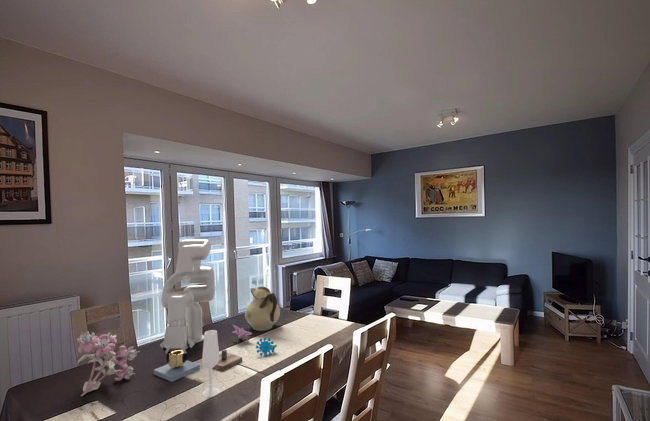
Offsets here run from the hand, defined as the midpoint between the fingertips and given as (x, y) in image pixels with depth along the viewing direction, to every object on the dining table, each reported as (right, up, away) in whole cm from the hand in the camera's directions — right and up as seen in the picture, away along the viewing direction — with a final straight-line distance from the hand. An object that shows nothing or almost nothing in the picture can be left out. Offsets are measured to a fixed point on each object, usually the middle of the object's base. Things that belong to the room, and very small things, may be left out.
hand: (177, 360), depth 147 cm
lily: (+20, -6, +37) cm, 42 cm away
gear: (+38, -5, +18) cm, 42 cm away
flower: (-24, -5, -10) cm, 26 cm away
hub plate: (0, -5, 0) cm, 5 cm away
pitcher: (+29, -7, +60) cm, 67 cm away
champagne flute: (+22, -4, -19) cm, 30 cm away
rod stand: (+19, -5, +8) cm, 21 cm away
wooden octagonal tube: (0, -1, 0) cm, 1 cm away
